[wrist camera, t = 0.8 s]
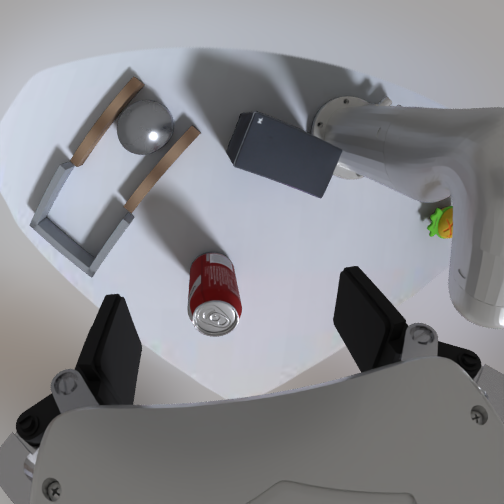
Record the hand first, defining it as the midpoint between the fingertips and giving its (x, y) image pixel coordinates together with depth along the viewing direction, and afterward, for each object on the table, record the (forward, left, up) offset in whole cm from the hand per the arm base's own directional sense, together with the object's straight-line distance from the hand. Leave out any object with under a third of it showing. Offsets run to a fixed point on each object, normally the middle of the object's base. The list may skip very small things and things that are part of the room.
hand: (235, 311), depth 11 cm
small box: (-8, +2, -29) cm, 30 cm away
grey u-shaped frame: (+17, -12, -28) cm, 35 cm away
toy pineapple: (-25, +34, -29) cm, 51 cm away
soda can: (+11, +9, -29) cm, 32 cm away
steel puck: (+1, -12, -29) cm, 31 cm away
